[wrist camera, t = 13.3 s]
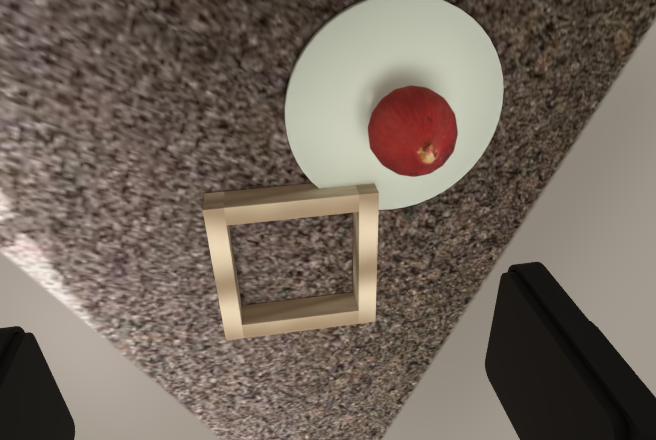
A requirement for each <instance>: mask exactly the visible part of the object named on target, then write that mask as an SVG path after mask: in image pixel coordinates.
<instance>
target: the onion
mask: <svg viewBox="0 0 656 440" xmlns="http://www.w3.org/2000/svg"><path fill="white" fill-rule="evenodd" d="M368 136H369V144H370V149H371V150H372V152H373V153H374V155H375V156H376V158H377V159H378V160H379V162H380V163H381V164H382V165H383V166H384V167H386V168H388V169H389V170H391V171H393V172H395V173H396V174H398V175H404V176H410V177H417V176H422V175H427V174H430V173H432V172H434V171H435V170H437V169H438V168H440V167H442V166H443V165H444V164H445V162H446V161H447V160H448V159H449V157H450V156H451V155H452V153H453V152H454V149H455V145H456V140H457V136H458V129H457V123H456V116H455V113H454V112H453V110H452V109H451V107H450V106H449V104H448V102H447V101H446V100H445V99H444V97H442V96H440V95H439V94H437V93H436V92H434V91H432V90H431V89H428V88H426V87H420V86H412V85H410V86H406V87H402V88H398V89H395V90H393V91H392V92H391V93H389V94H388V95H386V96H385V97H384V98H382V99H381V100H380V102H379V103H378V105H377V106H376V108H375V109H374V110H373V112H372V114H371V117H370V121H369V124H368Z"/></svg>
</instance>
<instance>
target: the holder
mask: <svg viewBox="0 0 656 440" xmlns="http://www.w3.org/2000/svg"><path fill="white" fill-rule="evenodd" d="M378 209H379V192H378V190H377V188H376V185H375V183H373V184H363V185H352V186H342V187H332V188H321V189H319V188H318V187H317V186H316V185H315V184H314V183H308V184H298V185H287V186H277V187H266V188H256V189H245V190H235V191H225V192H214V193H204V202H203V215H204V220H205V226H206V231H207V237H208V242H209V248H210V253H211V259H212V265H213V270H214V276H215V281H216V287H217V292H218V298H219V303H220V309H221V314H222V320H223V325H224V331H225V337H226V340H234V339H241V338H249V337H257V336H265V335H273V334H281V333H289V332H296V331H304V330H312V329H320V328H328V327H336V326H344V325H351V324H359V323H367V322H375V314H376V279H377V244H378ZM343 213H353V292H350V293H342V294H334V295H325V296H317V297H309V298H300V299H292V300H284V301H276V302H267V303H259V304H251V305H241V299H240V292H239V286H238V279H237V272H236V266H235V259H234V253H233V246H232V239H231V233H230V226H229V225H236V224H246V223H255V222H265V221H275V220H285V219H294V218H304V217H314V216H324V215H333V214H343Z"/></svg>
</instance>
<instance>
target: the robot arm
mask: <svg viewBox="0 0 656 440" xmlns="http://www.w3.org/2000/svg"><path fill="white" fill-rule="evenodd" d="M485 369H486V373H487V376H488V379H489V381H490V383H491V384H492V387H493V388H494V390H495V392H496V394H497V396H498V398H499V400H500V402H501V404H502V406H503V408H504V410H505V412H506V414H507V416H508V417H509V419H510V421H511V423H512V425H513V427H514V429H515V431H516V433H517V435H518V437H519V438H520V440H656V398H655V396H654V395H653V394H652V393H651V391H650V390H649V389H648V388H647V387H646V385H645V384H644V383H643V382H642V381H641V380H640V378H639V377H638V376H637V375H636V374H635V372H634V371H633V370H632V368H631V367H630V366H629V365H628V364H627V362H626V361H625V360H624V359H623V358H622V356H621V355H620V354H619V353H618V352H617V350H616V349H615V348H614V347H613V345H612V344H611V343H610V342H609V341H608V339H607V338H606V337H605V336H604V335H603V333H602V332H601V331H600V330H599V329H598V327H596V326H595V325H594V324H593V323H592V322H591V321H589V320H588V319H587V317H586V316H585V315H584V314H583V313H582V311H581V310H580V309H579V308H578V306H577V305H576V304H575V303H574V302H573V300H572V299H571V298H570V297H569V296H568V294H567V293H566V292H565V291H564V289H563V288H562V287H561V286H560V285H559V283H558V282H557V281H556V280H555V279H554V277H553V276H552V275H551V274H550V272H549V271H548V270H547V269H546V267H545V266H544V265H543V264H542V263H540V262H532V263H525V264H517V265H511V266H510V267H509V269H508V272H507V273H503V274H502V276H501V279H500V284H499V289H498V295H497V300H496V305H495V311H494V316H493V321H492V327H491V332H490V337H489V343H488V349H487V353H486V359H485ZM74 437H75V425H74V421H73V419H72V416H71V414H70V412H69V410H68V408H67V405H66V403H65V401H64V399H63V397H62V395H61V393H60V390H59V388H58V386H57V384H56V382H55V380H54V377H53V375H52V373H51V371H50V369H49V366H48V364H47V362H46V360H45V358H44V356H43V353H42V351H41V349H40V347H39V345H38V343H37V340H36V339H35V337H34V335H33V334H32V333H25V332H24V330H23V329H22V328H21V327H19V326H15V327H7V328H0V440H74Z"/></svg>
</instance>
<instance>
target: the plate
mask: <svg viewBox="0 0 656 440" xmlns="http://www.w3.org/2000/svg"><path fill="white" fill-rule="evenodd" d="M410 85H412V86H420V87H426V88H428V89H431V90H432V91H434V92H436V93H437V94H439V95H440V96H442V97H444V99H445V100H446V101H447V102H448V104H449V106H450V107H451V109H452V110H453V112H454V113H455V116H456V123H457V129H458V136H457V140H456V145H455V149H454V152H453V153H452V155H451V156H450V157H449V159H448V160H447V161H446V162H445V164H444V165H443V166H442V167H440V168H438V169H437V170H435V171H434V172H432V173H430V174H427V175H422V176H417V177H410V176H404V175H398V174H396V173H395V172H393V171H391V170H389V169H388V168H386V167H384V166H383V165H382V164H381V163H380V162H379V160H378V159H377V158H376V156H375V155H374V153H373V152H372V150H371V149H370V144H369V136H368V124H369V121H370V117H371V114H372V112H373V110H374V109H375V108H376V106H377V105H378V103H379V102H380V100H381V99H382V98H384V97H385V96H386V95H388V94H389V93H391V92H392V91H393V90H395V89H398V88H402V87H406V86H410ZM502 101H503V76H502V70H501V65H500V61H499V58H498V55H497V52H496V50H495V48H494V46H493V44H492V42H491V40H490V38H489V37H488V36H487V34H486V33H485V31H484V30H483V29H482V27H481V26H480V25H479V24H478V23H477V22H476V21H475V20H474V19H473V18H472V17H471V16H469V15H468V14H466V13H465V12H464V11H462V10H461V9H459V8H458V7H456V6H454V5H452V4H450V3H448V2H446V1H444V0H362V1H359V2H357V3H354V4H352V5H350V6H349V7H347V8H345V9H344V10H342V11H340V12H339V13H337V14H336V15H334V16H333V17H332V18H331V19H329V20H328V21H327V22H326V23H324V24H323V25H322V26H321V27H320V28H319V29H318V30H317V32H316V33H315V34H314V35H313V36H312V37H311V38H310V40H309V41H308V42H307V44H306V45H305V46H304V48H303V50H302V51H301V53H300V55H299V57H298V58H297V60H296V62H295V64H294V67H293V69H292V72H291V74H290V77H289V81H288V85H287V88H286V95H285V103H284V118H285V125H286V132H287V137H288V140H289V143H290V147H291V150H292V152H293V155H294V157H295V159H296V161H297V163H298V164H299V166H300V168H301V169H302V171H303V172H304V173H305V175H306V176H307V177H308V178H309V179H310V180H311V182H312V183H314V184H315V185H316V186H317V187H318V188H319V189H321V188H332V187H342V186H352V185H363V184H373V183H375V185H376V188H377V190H378V192H379V209H378V210H384V209H396V208H402V207H407V206H411V205H414V204H418V203H420V202H423V201H425V200H428V199H430V198H432V197H434V196H436V195H438V194H440V193H442V192H443V191H445V190H446V189H448V188H449V187H451V186H452V185H453V184H455V183H456V182H457V181H458V180H460V179H461V178H462V177H463V176H464V175H465V174H466V173H467V172H468V171H469V170H470V169H471V168H472V167H473V166H474V164H475V163H476V162H477V161H478V159H479V158H480V157H481V156H482V154H483V152H484V151H485V149H486V148H487V146H488V144H489V142H490V140H491V138H492V136H493V134H494V132H495V129H496V126H497V124H498V121H499V117H500V113H501V108H502Z"/></svg>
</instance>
